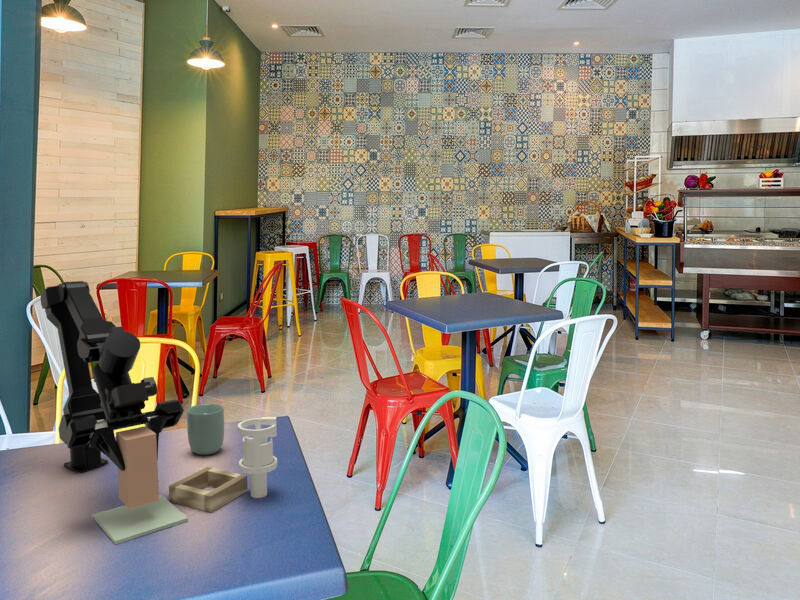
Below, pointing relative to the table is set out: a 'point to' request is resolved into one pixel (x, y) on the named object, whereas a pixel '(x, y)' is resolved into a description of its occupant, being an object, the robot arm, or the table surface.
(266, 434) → the white flanged cylinder housing
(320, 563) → the table surface
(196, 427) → the cup
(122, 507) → the mat
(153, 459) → the block
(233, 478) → the pocket frame
